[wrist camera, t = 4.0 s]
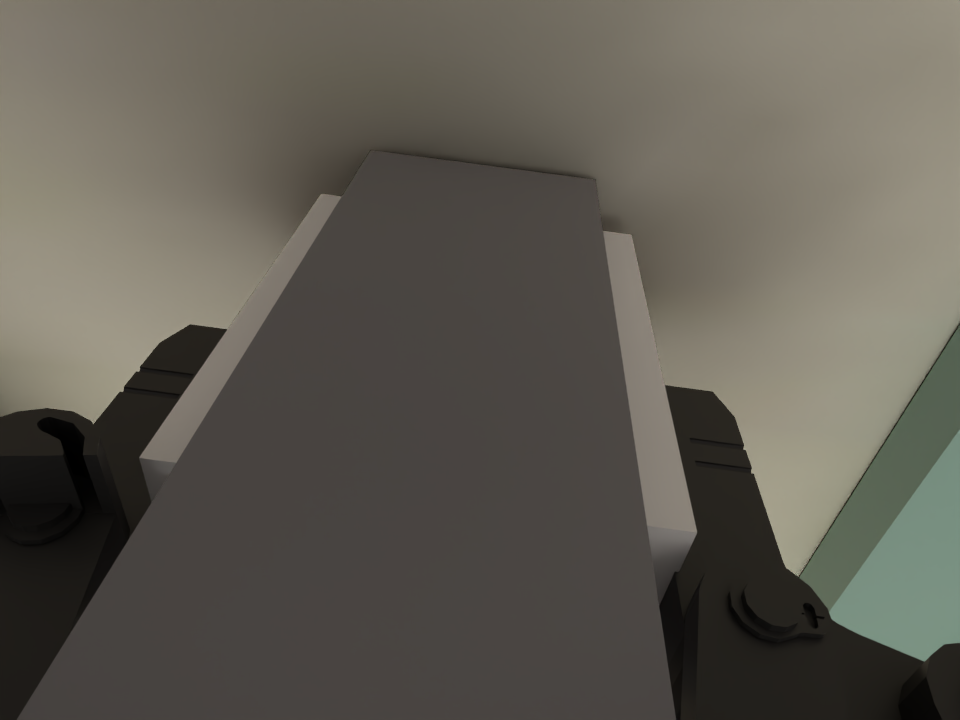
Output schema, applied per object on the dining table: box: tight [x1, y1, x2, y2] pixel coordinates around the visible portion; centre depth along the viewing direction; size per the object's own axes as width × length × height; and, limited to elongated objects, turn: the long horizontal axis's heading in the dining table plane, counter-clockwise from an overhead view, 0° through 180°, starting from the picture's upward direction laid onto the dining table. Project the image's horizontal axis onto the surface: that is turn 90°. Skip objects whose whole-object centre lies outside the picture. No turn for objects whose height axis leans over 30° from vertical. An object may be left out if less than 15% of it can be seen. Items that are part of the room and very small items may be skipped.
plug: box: [17, 150, 676, 720], centre depth 9 cm, size 5×4×10 cm
